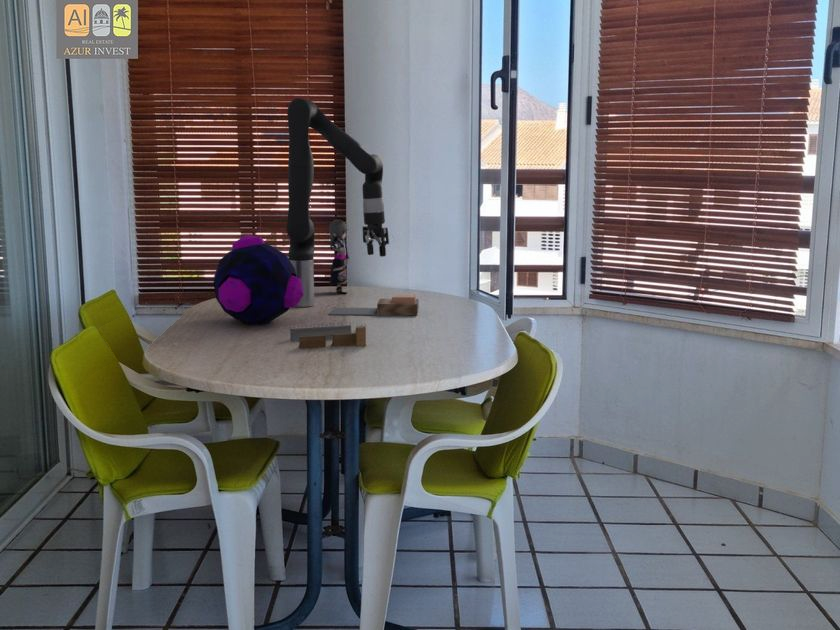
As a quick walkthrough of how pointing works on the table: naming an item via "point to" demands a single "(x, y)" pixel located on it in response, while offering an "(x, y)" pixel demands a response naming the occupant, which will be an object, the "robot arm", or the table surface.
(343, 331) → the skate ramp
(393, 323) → the table surface
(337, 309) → the mat
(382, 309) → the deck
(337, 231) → the figurine
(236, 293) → the sculpture
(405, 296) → the salmon pink rectangular block
